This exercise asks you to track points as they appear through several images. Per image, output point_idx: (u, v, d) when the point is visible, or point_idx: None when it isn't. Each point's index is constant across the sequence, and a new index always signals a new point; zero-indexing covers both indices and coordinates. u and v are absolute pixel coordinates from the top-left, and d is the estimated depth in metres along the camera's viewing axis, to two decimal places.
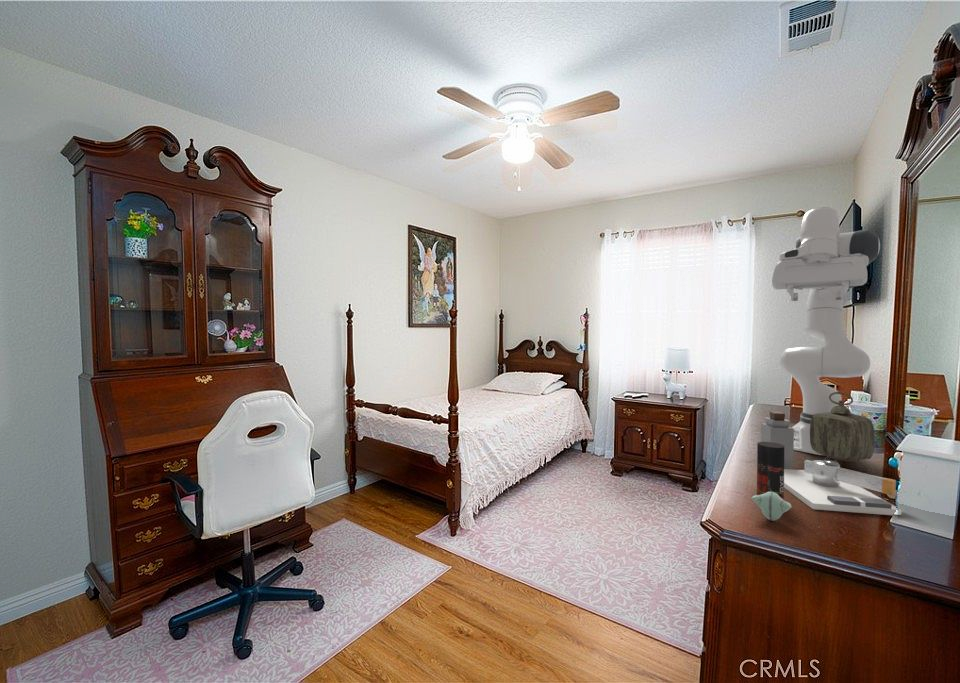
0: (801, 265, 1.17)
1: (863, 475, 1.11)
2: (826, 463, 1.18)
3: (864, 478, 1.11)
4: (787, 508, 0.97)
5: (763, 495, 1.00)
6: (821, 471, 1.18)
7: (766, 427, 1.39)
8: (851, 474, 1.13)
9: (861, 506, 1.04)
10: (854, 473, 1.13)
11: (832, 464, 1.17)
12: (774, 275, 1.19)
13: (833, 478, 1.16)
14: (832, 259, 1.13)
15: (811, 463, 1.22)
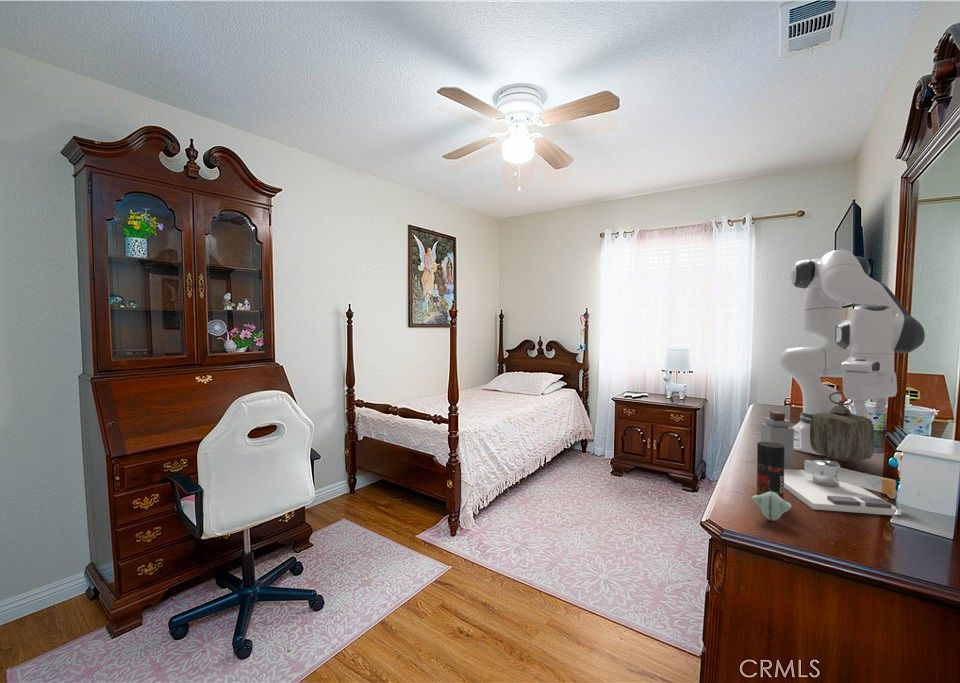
0: (872, 378, 1.11)
1: (863, 475, 1.11)
2: (826, 463, 1.18)
3: (864, 478, 1.11)
4: (787, 508, 0.97)
5: (763, 495, 1.00)
6: (821, 471, 1.18)
7: (766, 427, 1.39)
8: (851, 474, 1.13)
9: (861, 506, 1.04)
10: (854, 473, 1.13)
11: (832, 464, 1.17)
12: (862, 390, 1.08)
13: (833, 478, 1.16)
14: None
15: (811, 463, 1.22)
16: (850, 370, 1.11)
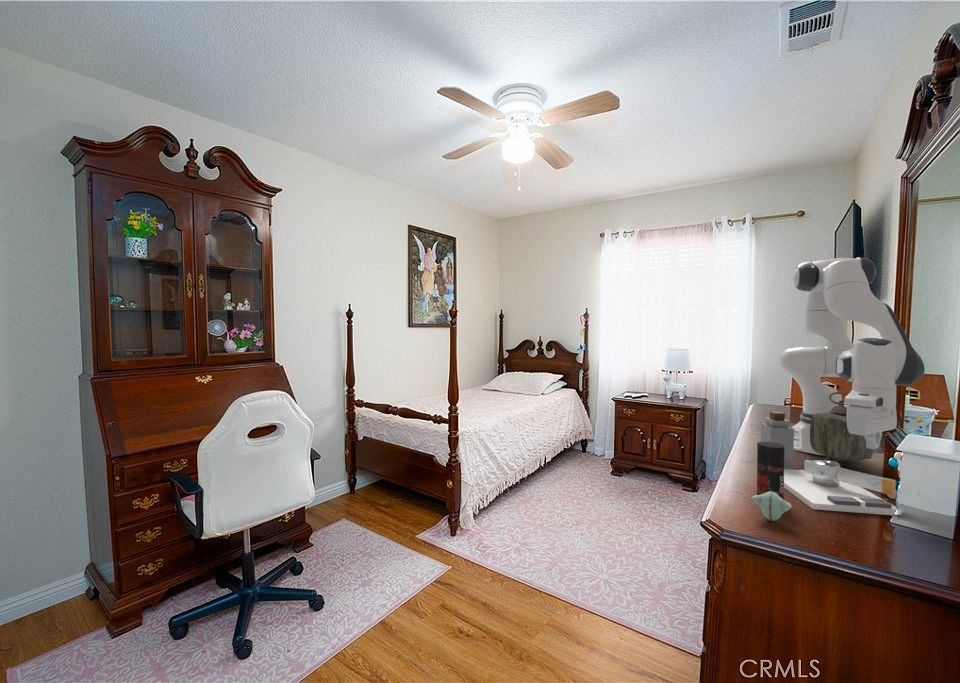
0: (875, 413, 1.11)
1: (863, 475, 1.11)
2: (826, 463, 1.18)
3: (864, 478, 1.11)
4: (787, 508, 0.97)
5: (763, 495, 1.00)
6: (821, 471, 1.18)
7: (766, 427, 1.39)
8: (851, 474, 1.13)
9: (861, 506, 1.04)
10: (854, 473, 1.13)
11: (832, 464, 1.17)
12: (866, 426, 1.08)
13: (833, 478, 1.16)
14: None
15: (811, 463, 1.22)
16: (854, 405, 1.11)
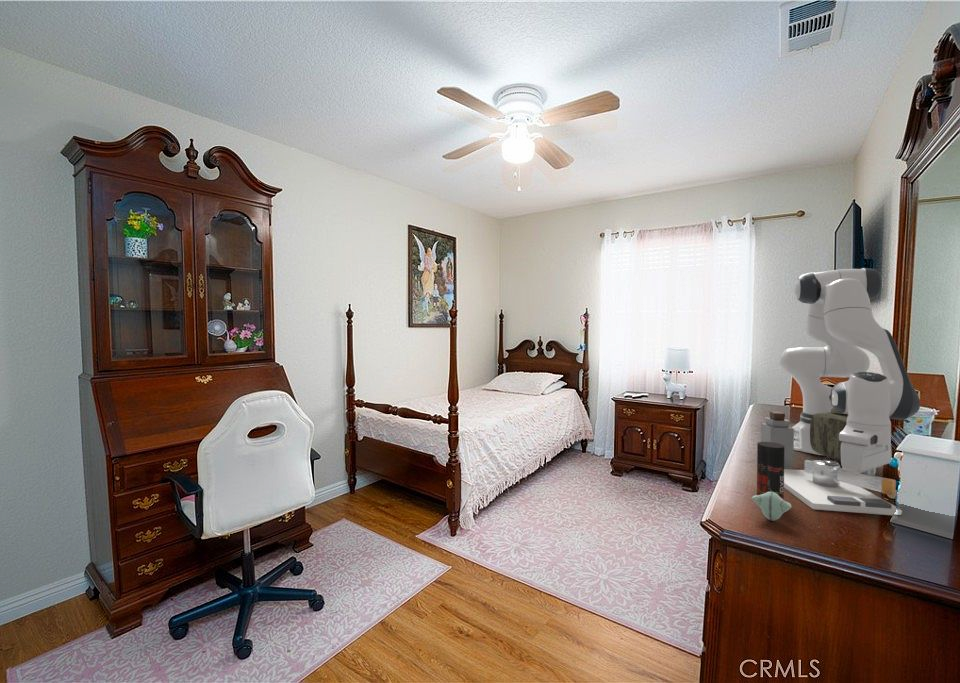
0: (870, 449, 1.10)
1: (863, 475, 1.11)
2: (826, 463, 1.18)
3: (864, 478, 1.11)
4: (787, 508, 0.97)
5: (763, 495, 1.00)
6: (821, 471, 1.18)
7: (766, 427, 1.39)
8: (851, 474, 1.13)
9: (861, 506, 1.04)
10: (854, 473, 1.13)
11: (832, 464, 1.17)
12: (860, 464, 1.07)
13: (833, 478, 1.16)
14: None
15: (811, 463, 1.22)
16: (848, 442, 1.10)
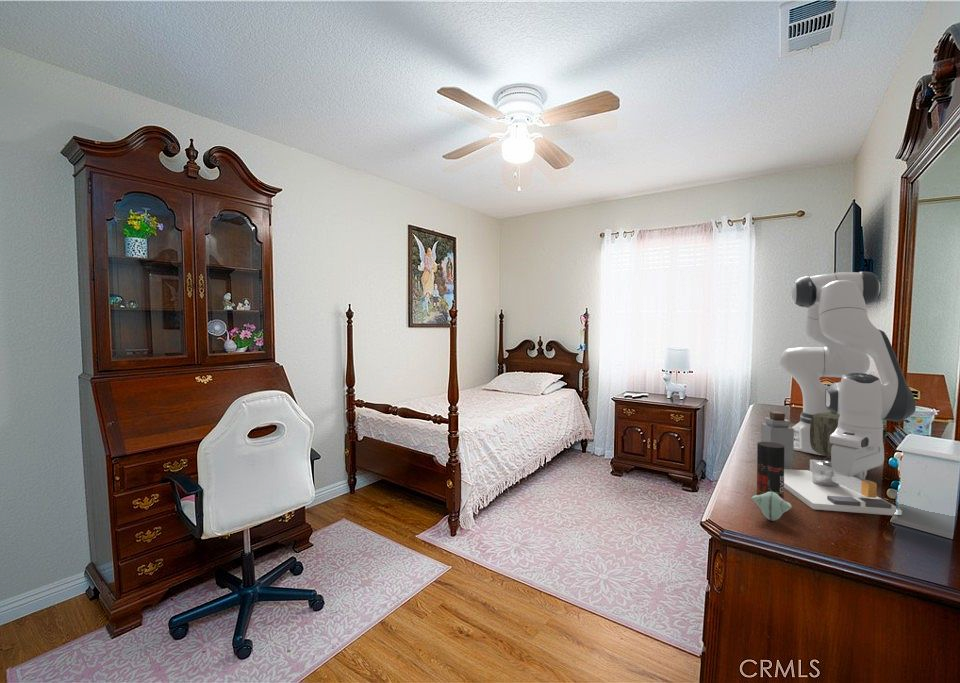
0: (861, 452, 1.08)
1: None
2: (822, 462, 1.18)
3: (850, 479, 1.10)
4: (787, 508, 0.97)
5: (763, 495, 1.00)
6: (815, 469, 1.19)
7: (766, 427, 1.39)
8: (841, 475, 1.13)
9: (861, 506, 1.04)
10: None
11: (827, 464, 1.17)
12: (851, 468, 1.05)
13: (826, 477, 1.17)
14: None
15: None
16: (839, 444, 1.08)
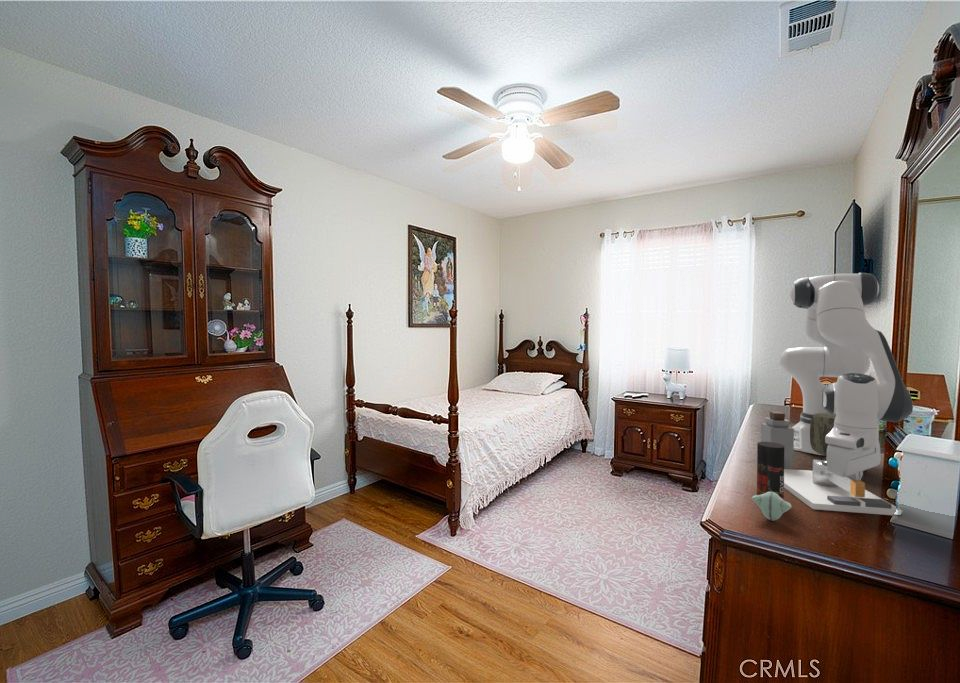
0: (856, 452, 1.08)
1: None
2: (821, 462, 1.19)
3: (842, 478, 1.11)
4: (787, 508, 0.97)
5: (763, 495, 1.00)
6: (814, 469, 1.20)
7: (766, 427, 1.39)
8: None
9: (861, 506, 1.04)
10: None
11: (825, 463, 1.17)
12: (846, 468, 1.05)
13: (824, 477, 1.17)
14: None
15: None
16: (834, 444, 1.08)
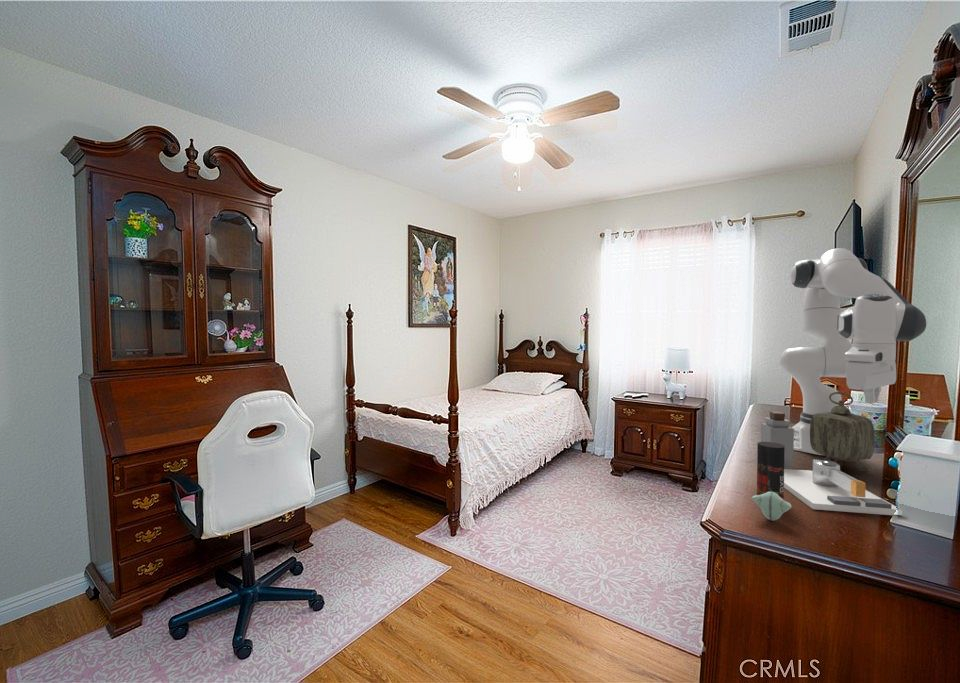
0: (875, 368, 1.12)
1: (842, 475, 1.11)
2: (821, 462, 1.19)
3: (843, 478, 1.11)
4: (787, 508, 0.97)
5: (763, 495, 1.00)
6: (814, 469, 1.19)
7: (766, 427, 1.39)
8: (836, 474, 1.13)
9: (861, 506, 1.04)
10: (837, 473, 1.13)
11: (825, 463, 1.17)
12: (865, 381, 1.10)
13: (824, 477, 1.17)
14: None
15: None
16: (853, 360, 1.12)
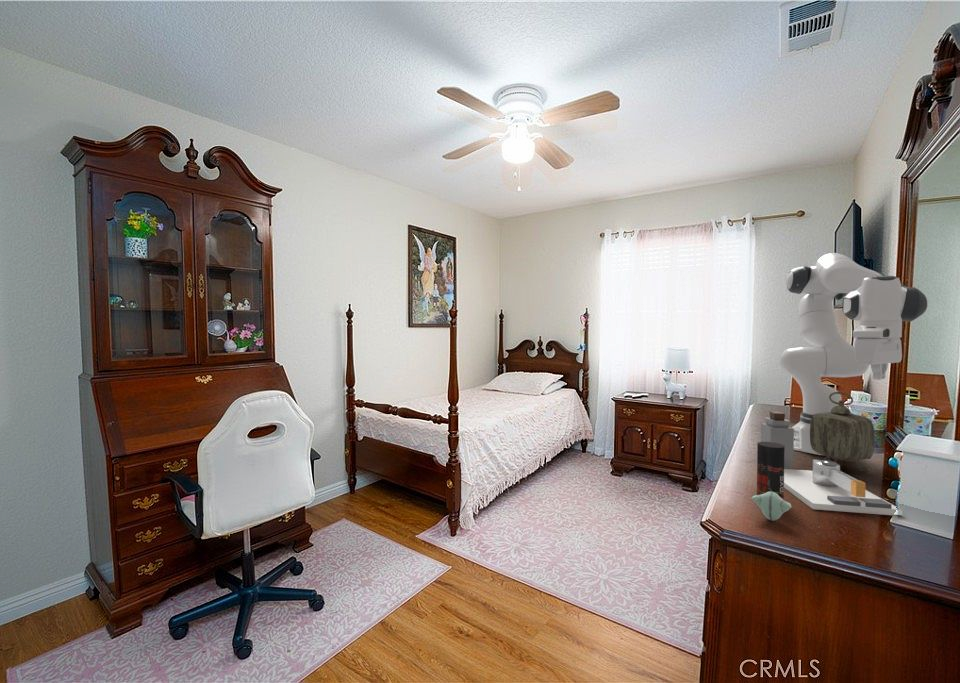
0: (882, 344, 1.17)
1: (842, 475, 1.11)
2: (821, 462, 1.19)
3: (843, 478, 1.11)
4: (787, 508, 0.97)
5: (763, 495, 1.00)
6: (814, 469, 1.19)
7: (766, 427, 1.39)
8: (836, 474, 1.13)
9: (861, 506, 1.04)
10: (837, 473, 1.13)
11: (825, 463, 1.17)
12: (873, 355, 1.14)
13: (824, 477, 1.17)
14: None
15: None
16: (862, 337, 1.17)
